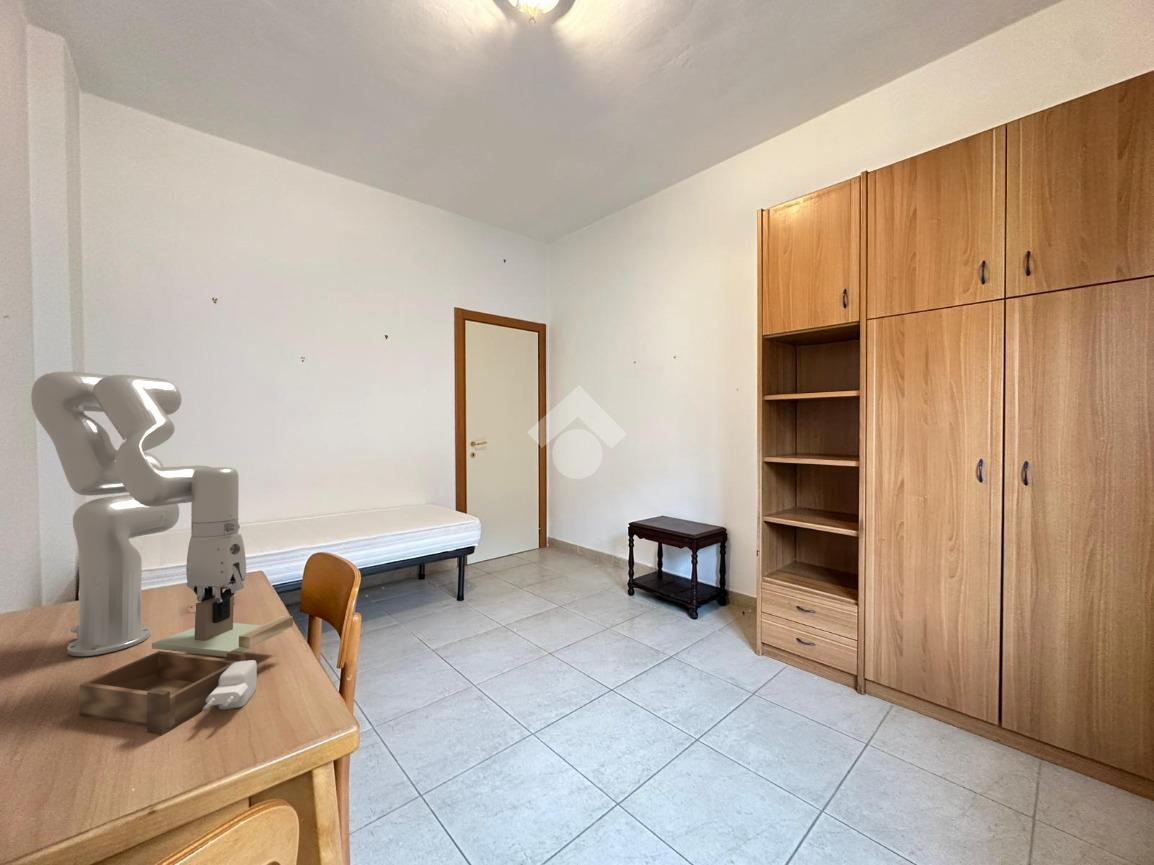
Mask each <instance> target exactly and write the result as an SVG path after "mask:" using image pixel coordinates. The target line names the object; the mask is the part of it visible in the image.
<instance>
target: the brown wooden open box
mask: <svg viewBox="0 0 1154 865" xmlns="http://www.w3.org/2000/svg"><path fill="white" fill-rule="evenodd" d="M246 657H247V656H246V651H242V652H239V651H230V652H228V653H227V657H226V658H222V657H221V658H219V657H214V656H213V657H211V656H203V655H195V654H187V653H181V652H179V653H178V652H173V651H165V650H158V651H155V652H154V653H151V654H149V655H147V656H144V657H142V658H140V659H137V660H135V661H133V662H130V663H128V664H125V665H123V666H120V667H117V668H116V669H113V670H111V671H109V672H106V673H104V674H101V675H99V676H97V677H95V678H92V679H90V680H87V681H85V682H83V683H80V684H79V685H78V687H79V688H78V716H79V717H83V718H90V719H94V720H101V721H102V720H103V721H107V722H114V723H119V724H127V725H132V726H138V727H142V728H143V727H144V728H146V733H148V734H154V735H160V736H163V735H165V734H166V733H168V732H170V731H172V730H174V729H176V728H177V727H178V726H180V725H182V724H183V723H185V722H187V721H188V720H190V719H192V718H194V717H195V716H197V715H199V714H200V713H202V712H203V711H202V708H203V707H204V706H205V705H206V704H207V702H206V699H207V697H208V696H209V695H210V694H211V693H212V692H213V691H214V690H215V689H216V687H217V686H218V684H219V679H220V676H221V675H222V673H223V672H224V671H225V670H226V669H227V668H228V667H229V666H230V665H232V664H233V663H234V662H239V661H246ZM212 706H213V705H211V706H210V707H209V708H211V707H212Z"/></svg>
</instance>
